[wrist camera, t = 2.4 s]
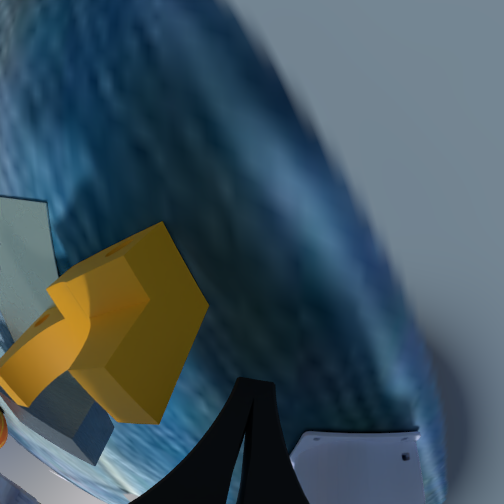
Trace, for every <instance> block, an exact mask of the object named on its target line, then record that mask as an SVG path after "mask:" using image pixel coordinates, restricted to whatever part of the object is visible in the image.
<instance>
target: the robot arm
mask: <svg viewBox="0 0 504 504" xmlns="http://www.w3.org/2000/svg"><path fill="white" fill-rule="evenodd" d="M245 431H246V432H245ZM244 434H245V442H244V453H243V464H242V474H241V482H240V489H239V493H238V498H237V503H236V504H425V493H424V486H423V479H422V473H421V467H420V461H419V456H418V450H417V445H416V441H417V440H418V439H419V438H420V436H421V435H420V432H418V431H416V432H401V433H332V432H316V431H307V432H305V433H303V435H302V436H301V438H300V440H299V441H298V443H297V444H296V446H295V448H294V449H293V451H292V453H291V454H290V456H289V454H288V451H287V448H286V444H285V441H284V437H283V433H282V429H281V424H280V420H279V415H278V409H277V402H276V391H275V384H274V383H273V382H267V381H261V380H255V379H250V378H244V377H238V378H237V380H236V383H235V385H234V388H233V390H232V392H231V394H230V396H229V398H228V400H227V402H226V404H225V405H224V407H223V409H222V410H221V412H220V413H219V415H218V416H217V418H216V420H215V421H214V423H213V424H212V425H211V427H210V428H209V429H208V431H207V432H206V433H205V435H204V436H203V437H202V439H201V440H200V441H199V442H198V444H197V445H196V446H195V447H194V448H193V449H192V450H191V452H190V453H189V454H188V455H187V456H186V457H185V458H184V459H183V460H182V461H181V462H180V463H179V464H178V465H177V466H176V467H175V468H174V469H173V470H172V471H171V472H170V473H169V474H167V475H166V476H165V477H164V478H163V479H162V480H160V481H159V482H158V483H157V484H155V485H154V486H153V487H152V488H150V489H149V490H148V491H146V492H145V493H144V494H142V495H141V496H139V497H138V498H137V499H135V500H133V501H132V502H130V503H128V504H226V500H227V496H228V491H229V486H230V482H231V477H232V472H233V469H234V466H235V463H236V460H237V457H238V454H239V451H240V447H241V444H242V441H243V438H244ZM0 504H41V503H39V502H38V501H37V500H36V499H35V498H34V497H33V496H31V495H30V494H29V493H27V492H26V491H25V490H23V489H22V488H21V487H19V486H18V485H17V484H15V483H14V482H12V481H10V480H9V479H7V478H6V477H5V476H3V475H2V474H1V473H0Z"/></svg>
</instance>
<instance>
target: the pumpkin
mask: <svg viewBox="0 0 504 504" xmlns="http://www.w3.org/2000/svg"><path fill="white" fill-rule="evenodd" d="M7 435H8V430H7V423H6V420H5V417H4V415H3V413H2V412H1V410H0V448H1V447H2V446H3V445H4V444H5V442H6V440H7Z"/></svg>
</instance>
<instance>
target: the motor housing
mask: <svg viewBox="0 0 504 504" xmlns="http://www.w3.org/2000/svg"><path fill="white" fill-rule="evenodd" d="M58 278H59V273H58V269H57V264H56V259H55V254H54V248H53V242H52V236H51V230H50V223H49V215H48V206H47V203H46V202H38V201H30V200H23V199H15V198H7V197H0V310H1V312H2V315H3V317H4V320H5V322H6V324H7V327H8V329H9V331H10V334H11V336H12V338H13V340H14V342H16V341H17V340H18V339H19V338H20V336H21V335H22V334H23V333H24V332H25V331H26V330H27V329H28V328H29V327H30V326H31V325H32V324H33V323H34V322H35V321H36V320H37V319H38V318H39V317H40V316H41V315H42V314H43V313H44V312H45V311H46V310H49V309H51V308H54V307H56V305H55V303H54V301H53V300H52V298H51V297H50V295H49V294H48V292H47V290H46V288H48V287H49V286H50V285H51V284H52V283H53V282H54V281H56V280H57V279H58ZM0 396H1V397H2V398H3V400H4V401H5V402H6V404H7V405H8V406H9V408H10V409H11V410H12V412H13V413H14V414H15V415H16V417H17V418H18V419H19V420H20V421H21V422H22V423H23V424H25V425H26V426H28V427H29V428H30V429H32V430H33V431H35V432H36V433H38V434H39V435H41V436H42V437H44V438H45V439H47V440H48V441H50V442H52V443H53V444H55V445H57V446H58V447H60V448H62V449H63V450H65V451H67V452H69V453H70V454H72V455H74V456H76V457H78V458H79V459H81V460H83V461H85V462H87V463H89V464H91V465H93V466H96V464H97V462H98V460H99V458H100V456H101V454H102V452H103V450H104V448H105V446H106V444H107V442H108V440H109V438H110V436H111V434H112V432H113V430H114V426H113V424H112V422H111V420H110V418H109V416H108V414H107V412H106V410H105V409H103V408H102V407H101V406H100V405H99V404H98V403H97V402H96V401H95V400H94V399H93V397H92V396H91V395H90V394H89V393H88V392H87V391H86V390H85V389H84V388H83V387H82V386H81V385H80V384H79V383H78V381H77V380H76V379H75V378H74V377H73V376H72V375H71V374H70V372H69V371H68V370H67V371H65V372H64V373H62V374H61V375H60V376H58V377H57V378H56V379H54V380H53V381H52V382H51V383H50V384H49V385H48V386H47V387H45V388H44V390H43V391H42V392H41V393H40V394H39V395H38V396H37V397H36V398H35V400H34V401H33V402H32V403H31V405H30V406H29V407H25V406H21V405H17V404H16V403H15V401H14V400H13V399H12V398H11V397H10V396H9V395H8V394H7V393H6V391H5V390H4V389H3V388H2V387H1V386H0Z"/></svg>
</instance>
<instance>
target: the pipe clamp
mask: <svg viewBox="0 0 504 504" xmlns="http://www.w3.org/2000/svg"><path fill="white" fill-rule="evenodd" d="M46 290H47V292H48V294H49V295H50V297H51V298H52V300H53V301H54V303H55V305H56V307H54V308H51V309H49V310H46V311H45V312H44V313H43V314H42V315H41V316H40V317H39V318H38V319H37V320H36V321H35V322H34V323H33V324H32V325H31V326H30V327H29V328H28V329H27V330H26V331H25V332H24V333H23V334H22V335H21V336H20V338H19V339H18V340H17V341H16V342H15V343H14V344H13V345H12V346H11V347H10V348H9V349H8V351H7V352H6V353H5V354H4V355H3V356H2V357H1V358H0V386H1V387H2V388H3V389H4V390H5V391H6V393H7V394H8V395H9V396H10V397H11V398H12V399H13V400H14V401H15V403H16V404H17V405H21V406H25V407H29V406H30V405H31V403H32V402H33V401H34V400H35V398H36V397H37V396H38V395H39V394H40V393H41V392H42V391H43V390H44V388H45V387H47V386H48V385H49V384H50V383H51V382H52V381H53V380H54V379H56V378H57V377H58V376H60V375H61V374H62V373H64V372H65V371H67V370H68V371H69V372H70V374H71V375H72V376H73V377H74V378H75V379H76V380H77V381H78V383H79V384H80V385H81V386H82V387H83V388H84V389H85V390H86V391H87V392H88V393H89V394H90V395H91V396H92V397H93V399H94V400H95V401H96V402H97V403H98V404H99V405H100V406H101V407H102V408H103V409H105V410H106V411H107V412H108V413H109V414H110V415H111V416H112V417H113V418H114V419H115V420H116V421H117V422H122V423H135V424H157V425H159V424H160V421H161V419H162V416H163V414H164V411H165V409H166V407H167V404H168V402H169V399H170V397H171V394H172V392H173V390H174V387H175V385H176V382H177V380H178V378H179V375H180V373H181V370H182V368H183V366H184V363H185V361H186V358H187V356H188V354H189V351H190V349H191V347H192V344H193V342H194V340H195V337H196V335H197V333H198V330H199V328H200V326H201V323H202V321H203V319H204V316H205V314H206V312H207V309H208V307H209V304H208V303H207V301H206V299H205V297H204V296H203V294H202V292H201V291H200V289H199V287H198V285H197V284H196V282H195V280H194V278H193V277H192V275H191V273H190V271H189V269H188V268H187V266H186V264H185V262H184V260H183V259H182V257H181V255H180V253H179V251H178V249H177V248H176V246H175V244H174V242H173V240H172V238H171V236H170V235H169V233H168V231H167V229H166V227H165V225H164V223H163V221H162V222H159V223H157V224H155V225H153V226H151V227H149V228H147V229H145V230H143V231H140V232H138V233H136V234H134V235H132V236H130V237H128V238H126V239H124V240H122V241H120V242H118V243H116V244H114V245H112V246H110V247H108V248H106V249H104V250H102V251H100V252H98V253H96V254H95V255H93V256H91V257H89V258H87V259H85V260H83V261H81V262H79V263H78V264H76V265H74V266H72V267H71V268H70V269H69V270H68V271H66V272H65V273H64V274H63V275H62V276H60V277H59V278H58V279H57V280H56V281H54V282H53V283H52V284H51V285H50V286H49V287H48V288H46Z"/></svg>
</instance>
